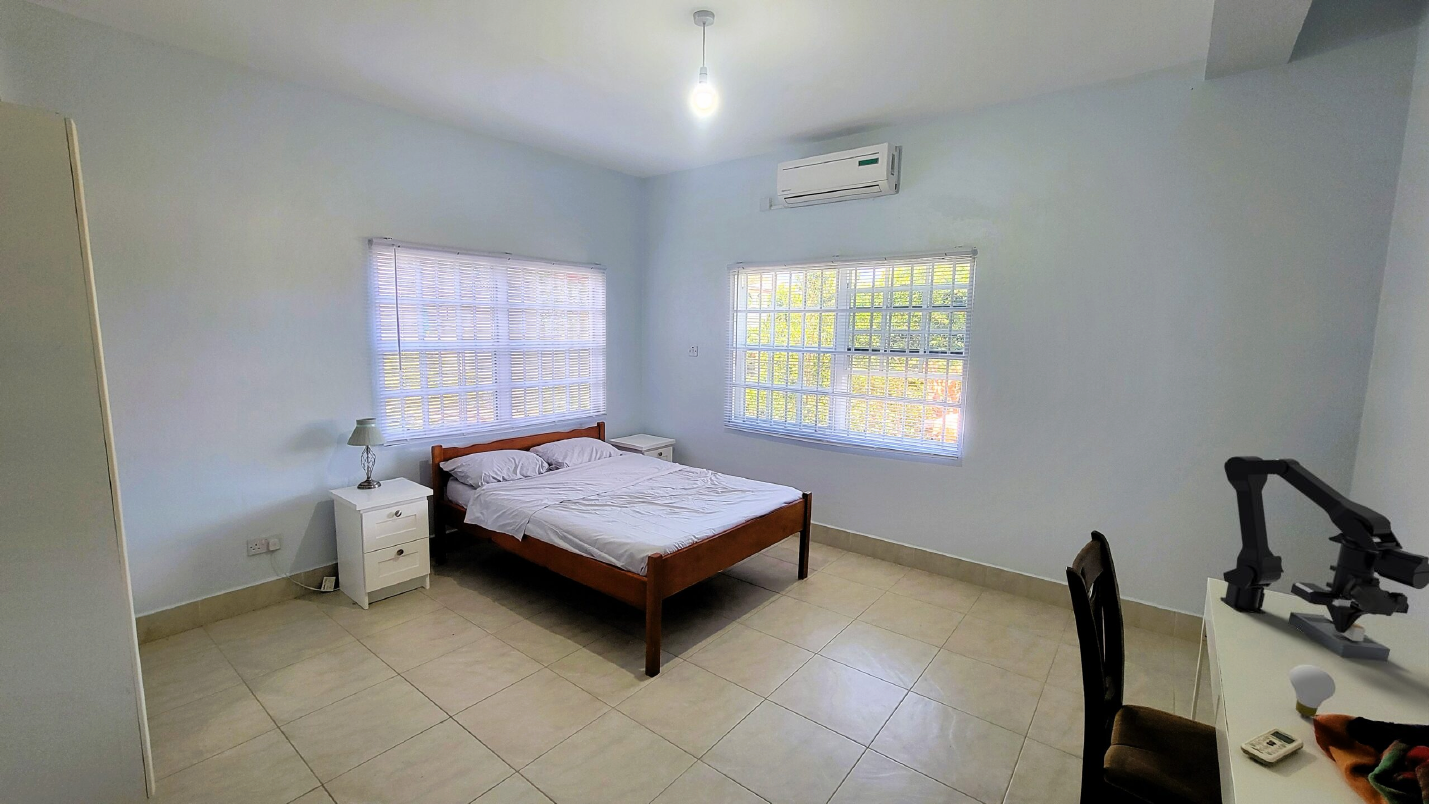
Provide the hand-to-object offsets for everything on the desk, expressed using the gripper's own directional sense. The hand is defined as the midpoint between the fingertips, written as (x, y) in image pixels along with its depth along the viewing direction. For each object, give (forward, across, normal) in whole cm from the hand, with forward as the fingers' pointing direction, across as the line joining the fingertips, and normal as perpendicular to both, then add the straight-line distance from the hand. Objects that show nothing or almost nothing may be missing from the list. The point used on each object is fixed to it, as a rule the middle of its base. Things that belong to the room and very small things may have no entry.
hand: (1340, 632), depth 129 cm
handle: (+1, +5, +8) cm, 10 cm away
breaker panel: (+4, +3, +4) cm, 7 cm away
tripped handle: (+1, +2, 0) cm, 3 cm away
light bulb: (+5, -27, -27) cm, 38 cm away
